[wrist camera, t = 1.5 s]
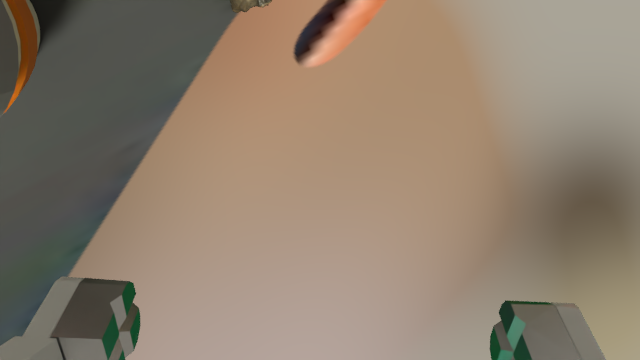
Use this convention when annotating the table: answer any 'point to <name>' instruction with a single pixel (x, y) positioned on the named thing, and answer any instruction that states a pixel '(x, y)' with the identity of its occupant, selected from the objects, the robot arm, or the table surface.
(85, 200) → the table surface
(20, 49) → the reusable coffee cup
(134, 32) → the table surface
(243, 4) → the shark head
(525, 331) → the robot arm
